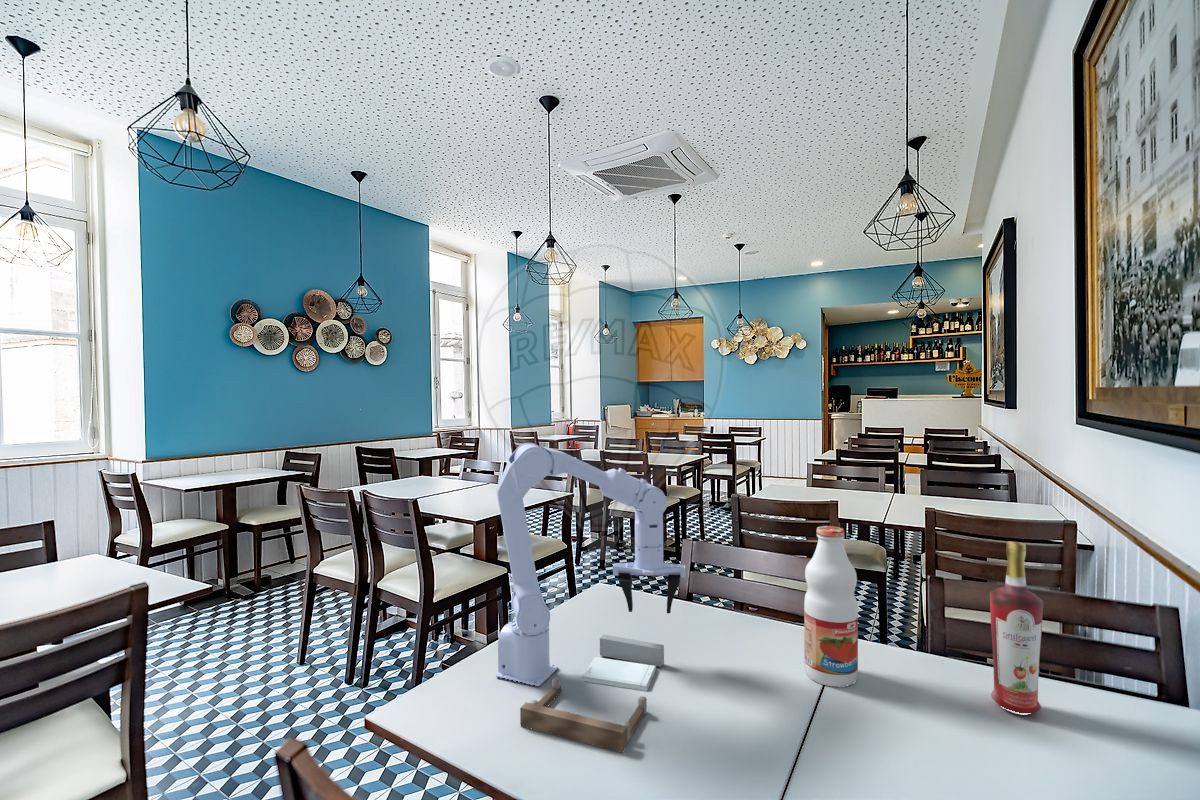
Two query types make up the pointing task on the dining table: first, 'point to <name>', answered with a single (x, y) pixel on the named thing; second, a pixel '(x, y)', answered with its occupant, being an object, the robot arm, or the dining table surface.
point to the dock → (579, 722)
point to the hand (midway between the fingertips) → (649, 610)
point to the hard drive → (619, 673)
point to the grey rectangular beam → (632, 650)
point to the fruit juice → (831, 612)
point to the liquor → (1016, 637)
